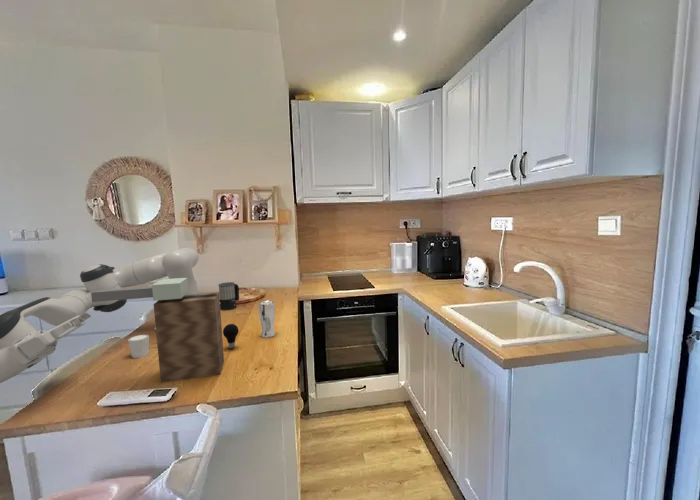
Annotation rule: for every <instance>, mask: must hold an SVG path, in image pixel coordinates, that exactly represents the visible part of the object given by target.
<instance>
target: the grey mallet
mask: <svg viewBox="0 0 700 500" xmlns="http://www.w3.org/2000/svg"><path fill="white" fill-rule="evenodd" d="M188 292H189V291H188V279H187V278H175V279H169V278H161V279H159V280H158V281H157V282H155V283H154V284H151V286H141V287H124V288H122V289H111V290H97V291H94V292H91V297H92V302H100V301H112V300H125V299H127V300H134V299H136V300H137V299H145V298H146V299H147V298H152V299H153V302H154V301H156V302H157V301H158V300H168V299H180V298H182V297H183V296H184V295H185V294H187V293H188Z"/></svg>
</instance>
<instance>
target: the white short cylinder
mask: <svg viewBox="0 0 700 500" xmlns="http://www.w3.org/2000/svg"><path fill="white" fill-rule="evenodd" d="M127 341H128V345H129V350H130V354H131V355H130V356H131V358H134V359H135V358H136V359H137V358H142V357H146V356H148V355H149V351H150V349H149V348H150V336H149V334H138V335H134V336H131V337H129V338H128V339H127Z"/></svg>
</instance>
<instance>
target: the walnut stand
mask: <svg viewBox="0 0 700 500" xmlns="http://www.w3.org/2000/svg"><path fill="white" fill-rule="evenodd" d="M153 311H154V312H153V314H154V324H155V327H156V330H155V334H156V345H157V355H158V365H159V366H158V368H159V375H160V376H159V377H160V383H166V382H175V381H181V380H189V379H195V378H202V377H210V376H216V375H221V372H222V370H223V366H224V362H225V359H224V358H225V356H224V354H225V353H224V343H223V328H222V316H221V315H222V313H221V310H220V294H219V291H218V292H207V293H205V292H204V293H197V294H191V295H184V296H183V297H182V298H180V299H168V300H156V302H155V303H153Z"/></svg>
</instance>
